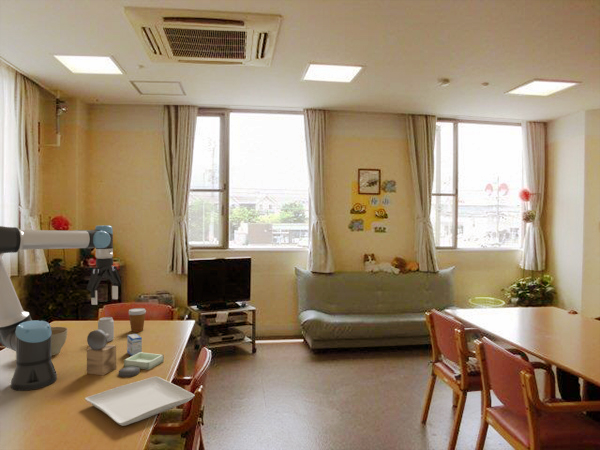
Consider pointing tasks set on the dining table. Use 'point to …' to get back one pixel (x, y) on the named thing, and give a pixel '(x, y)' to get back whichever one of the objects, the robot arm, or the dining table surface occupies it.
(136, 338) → the medicine box
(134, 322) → the disposable coffee cup
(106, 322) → the can
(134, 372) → the dark grey round puck
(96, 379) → the dining table surface
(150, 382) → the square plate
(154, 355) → the tray
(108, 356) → the pulley stand
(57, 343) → the planter bowl
